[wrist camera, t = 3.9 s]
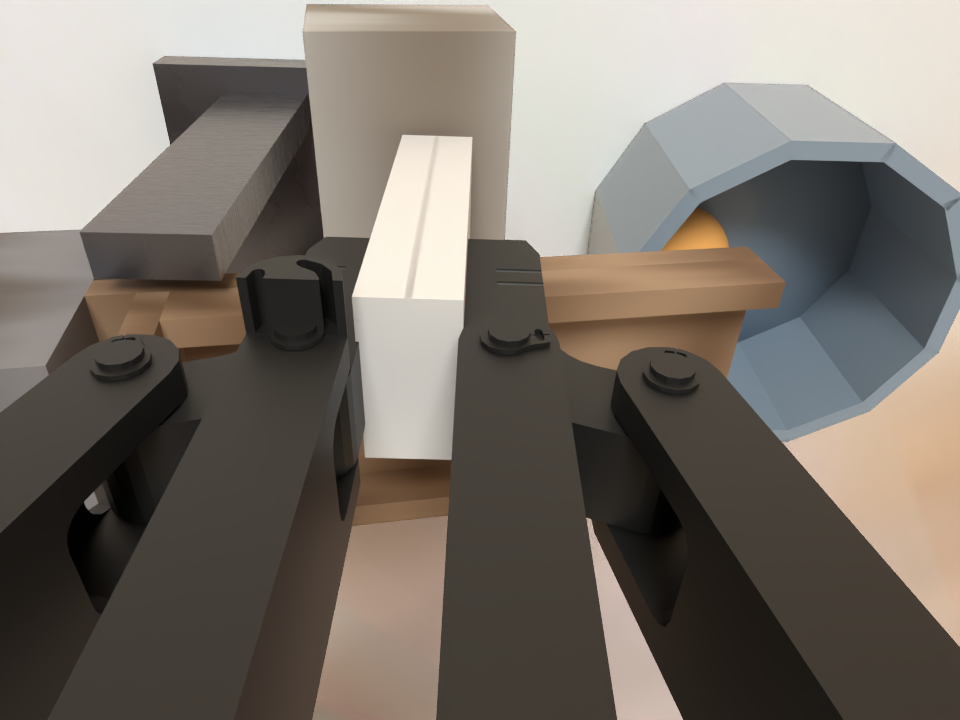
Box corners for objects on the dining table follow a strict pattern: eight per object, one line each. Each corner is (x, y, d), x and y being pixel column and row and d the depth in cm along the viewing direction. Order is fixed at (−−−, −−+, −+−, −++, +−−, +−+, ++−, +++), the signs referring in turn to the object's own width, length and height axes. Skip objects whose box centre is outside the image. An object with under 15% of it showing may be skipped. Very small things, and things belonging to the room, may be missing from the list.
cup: (576, 343, 35) (597, 439, 29) (609, 79, 28) (647, 136, 22) (825, 347, 35) (895, 443, 29) (920, 88, 28) (1036, 146, 22)
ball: (608, 277, 32) (639, 325, 28) (621, 190, 29) (656, 232, 26) (694, 273, 32) (733, 319, 29) (713, 187, 30) (758, 227, 27)
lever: (-42, 446, 24) (-156, 627, 18) (-283, -23, 16) (-612, 43, 10) (661, 387, 28) (745, 522, 22) (749, -13, 20) (914, 38, 14)
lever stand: (224, 344, 34) (108, 574, 23) (164, 56, 27) (-47, 191, 16) (391, 347, 35) (356, 576, 24) (377, 62, 27) (316, 200, 16)
